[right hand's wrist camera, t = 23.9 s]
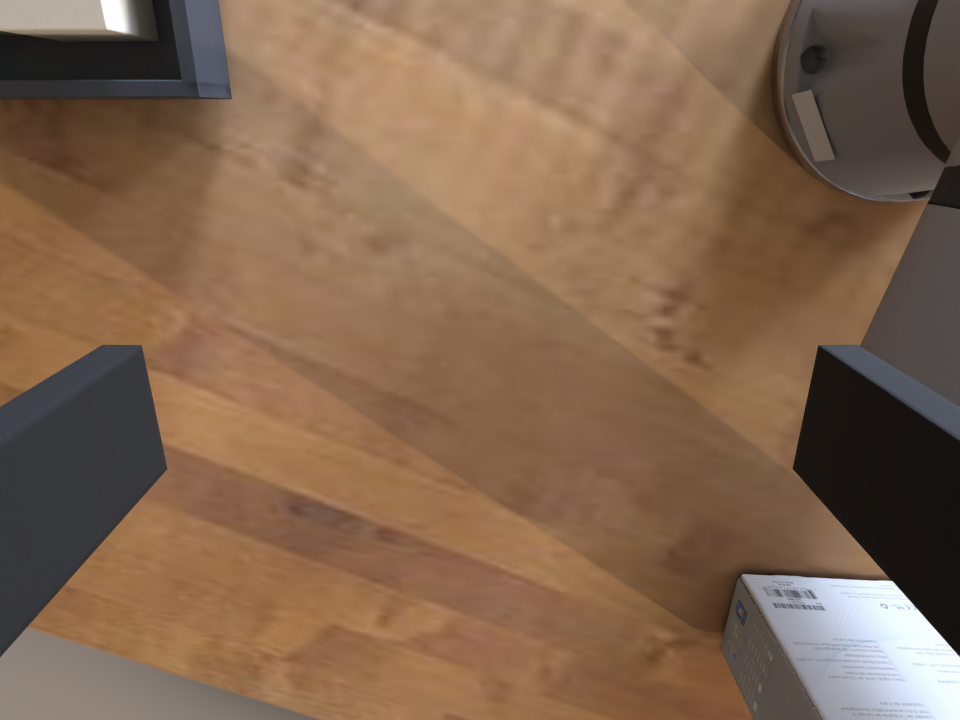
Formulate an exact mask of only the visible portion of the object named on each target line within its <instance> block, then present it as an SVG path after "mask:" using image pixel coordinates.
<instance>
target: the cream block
mask: <svg viewBox="0 0 960 720" xmlns="http://www.w3.org/2000/svg"><path fill="white" fill-rule="evenodd" d="M0 31H4V32H10V33H16V34H22V35H28V36H34V37H40V38H46V39H52V40H58V41H64V42H88V41H159V38H158V32H157V26H156V21H155V15H154V9H153V3H152V0H0Z"/></svg>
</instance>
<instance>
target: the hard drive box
mask: <svg viewBox="0 0 960 720" xmlns="http://www.w3.org/2000/svg"><path fill="white" fill-rule="evenodd" d="M721 651H722V653H723V655H724V657H725V659H726V661H727V663H728V666H729V668H730V670H731V672H732V674H733V676H734V678H735V680H736V682H737V685H738V687H739V689H740V691H741V693H742V695H743V697H744V700H745V702H746V704H747V706H748V708H749V710H750V713H751V715H752V717H753V719H754V720H960V657H959V656H958V655H957V653H956V652H955V651H954V650H953V649H952V648H951V647H950V646H949V644H948V643H947V642H946V641H945V640H944V639H943V638H942V637H941V635H940V634H939V633H938V632H937V631H936V630H935V629H934V627H933V626H932V625H931V624H930V623H929V622H928V621H927V620H926V618H925V617H924V616H923V615H922V614H921V613H920V612H919V611H918V609H917V608H916V607H915V606H914V605H913V604H912V603H911V602H910V600H909V599H908V598H907V597H906V596H905V595H904V594H903V593H902V591H901V590H900V589H899V588H898V587H897V586H896V585H895V584H894V582H893V581H882V580H880V581H869V580H850V579H830V578H813V577H801V576H784V575H772V576H770V575H753V574H743V575H742V576H741V578H738V580H737V584H736V588H735V591H734V596H733V599H732V603H731V607H730V611H729V615H728V619H727V623H726V627H725V631H724V635H723V639H722V643H721Z"/></svg>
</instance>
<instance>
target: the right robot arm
mask: <svg viewBox="0 0 960 720" xmlns="http://www.w3.org/2000/svg"><path fill="white" fill-rule="evenodd" d="M772 93H773V101H774V108H775V113H776V117H777V121H778V124H779V127H780V130H781V132H782V135H783V137H784V139H785V141H786V143H787V145H788V147H789V148H790V150H791V152H792V153H793V155H794V156H795V158H796V159H797V160H798V161H799V163H800V164H801V165H802V166H803V167H804V168H805V169H806V170H807V171H808V172H809V173H810V174H811V175H813V176H814V177H815V178H816V179H818V180H819V181H820V182H822V183H824V184H825V185H827V186H829V187H831V188H833V189H835V190H837V191H840V192H842V193H845V194H848V195H851V196H856V197H860V198H865V199H870V200H875V201H883V202H911V201H922V200H929V202H928V204H927V205H926V207H925V209H924V211H923V213H922V215H921V218H920V220H919V222H918V224H917V226H916V228H915V230H914V232H913V235H912V237H911V239H910V241H909V243H908V245H907V247H906V249H905V252H904V254H903V256H902V258H901V260H900V262H899V264H898V266H897V269H896V271H895V273H894V275H893V277H892V279H891V281H890V284H889V286H888V288H887V290H886V292H885V294H884V296H883V298H882V301H881V303H880V305H879V307H878V309H877V311H876V313H875V315H874V318H873V320H872V322H871V324H870V326H869V328H868V330H867V332H866V335H865V337H864V339H863V341H862V343H861V345H860V346H858V345H818V350H817V355H816V359H815V364H814V369H813V374H812V379H811V383H810V388H809V393H808V398H807V403H806V407H805V412H804V417H803V422H802V427H801V432H800V436H799V441H798V446H797V451H796V456H795V460H794V465H793V470H794V471H795V472H796V473H797V474H798V475H799V477H800V478H801V479H802V480H803V481H804V482H805V483H806V484H807V486H808V487H809V488H810V489H811V490H812V491H813V492H814V493H815V495H816V496H817V497H818V498H819V499H820V500H821V501H822V502H823V504H824V505H825V506H826V507H827V508H828V509H829V510H830V511H831V513H832V514H833V515H834V516H835V517H836V518H837V519H838V520H839V522H840V523H841V524H842V525H843V526H844V527H845V528H846V529H847V531H848V532H849V533H850V534H851V535H852V536H853V537H854V538H855V540H856V541H857V542H858V543H859V544H860V545H861V546H862V547H863V549H864V550H865V551H866V552H867V553H868V554H869V555H870V557H871V558H872V559H873V560H874V561H875V562H876V563H877V564H878V566H879V567H880V568H881V569H882V570H883V571H884V572H885V573H886V575H887V576H888V577H889V578H890V579H891V580H892V581H893V582H894V584H895V585H896V586H897V587H898V588H899V589H900V590H901V591H902V593H903V594H904V595H905V596H906V597H907V598H908V599H909V600H910V602H911V603H912V604H913V605H914V606H915V607H916V608H917V609H918V611H919V612H920V613H921V614H922V615H923V616H924V617H925V618H926V620H927V621H928V622H929V623H930V624H931V625H932V626H933V627H934V629H935V630H936V631H937V632H938V633H939V634H940V635H941V637H942V638H943V639H944V640H945V641H946V642H947V643H948V644H949V646H950V647H951V648H952V649H953V650H954V651H955V652H956V653H957V655H958V656H959V657H960V0H791V2H790V4H789V7H788V9H787V12H786V14H785V16H784V19H783V22H782V25H781V28H780V31H779V35H778V39H777V43H776V47H775V53H774V60H773V71H772ZM166 470H167V465H166V460H165V456H164V451H163V446H162V441H161V436H160V432H159V427H158V422H157V417H156V412H155V407H154V403H153V398H152V393H151V388H150V383H149V379H148V374H147V369H146V364H145V359H144V355H143V350H142V345H102V346H100V347H98V348H97V349H95V350H93V351H92V352H90V353H89V354H87V355H85V356H84V357H82V358H80V359H79V360H77V361H75V362H74V363H72V364H70V365H69V366H67V367H65V368H64V369H62V370H60V371H59V372H57V373H55V374H54V375H52V376H51V377H49V378H47V379H46V380H44V381H42V382H41V383H39V384H37V385H36V386H34V387H32V388H31V389H29V390H27V391H26V392H24V393H22V394H21V395H19V396H18V397H16V398H14V399H13V400H11V401H9V402H8V403H6V404H4V405H3V406H1V407H0V657H1V656H2V655H3V653H4V652H5V651H6V650H7V649H8V648H9V647H10V645H11V644H12V643H13V642H14V641H15V640H16V639H17V638H18V636H19V635H20V634H21V633H22V632H23V631H24V630H25V629H26V627H27V626H28V625H29V624H30V623H31V622H32V621H33V620H34V618H35V617H36V616H37V615H38V614H39V613H40V612H41V611H42V609H43V608H44V607H45V606H46V605H47V604H48V603H49V602H50V600H51V599H52V598H53V597H54V596H55V595H56V594H57V593H58V591H59V590H60V589H61V588H62V587H63V586H64V585H65V584H66V582H67V581H68V580H69V579H70V578H71V577H72V576H73V575H74V573H75V572H76V571H77V570H78V569H79V568H80V567H81V566H82V564H83V563H84V562H85V561H86V560H87V559H88V558H89V557H90V555H91V554H92V553H93V552H94V551H95V550H96V549H97V547H98V546H99V545H100V544H101V543H102V542H103V541H104V540H105V538H106V537H107V536H108V535H109V534H110V533H111V532H112V531H113V529H114V528H115V527H116V526H117V525H118V524H119V523H120V522H121V520H122V519H123V518H124V517H125V516H126V515H127V514H128V513H129V511H130V510H131V509H132V508H133V507H134V506H135V505H136V504H137V502H138V501H139V500H140V499H141V498H142V497H143V496H144V495H145V493H146V492H147V491H148V490H149V489H150V488H151V487H152V486H153V484H154V483H155V482H156V481H157V480H158V479H159V478H160V477H161V475H162V474H163V473H164V472H165V471H166Z"/></svg>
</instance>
